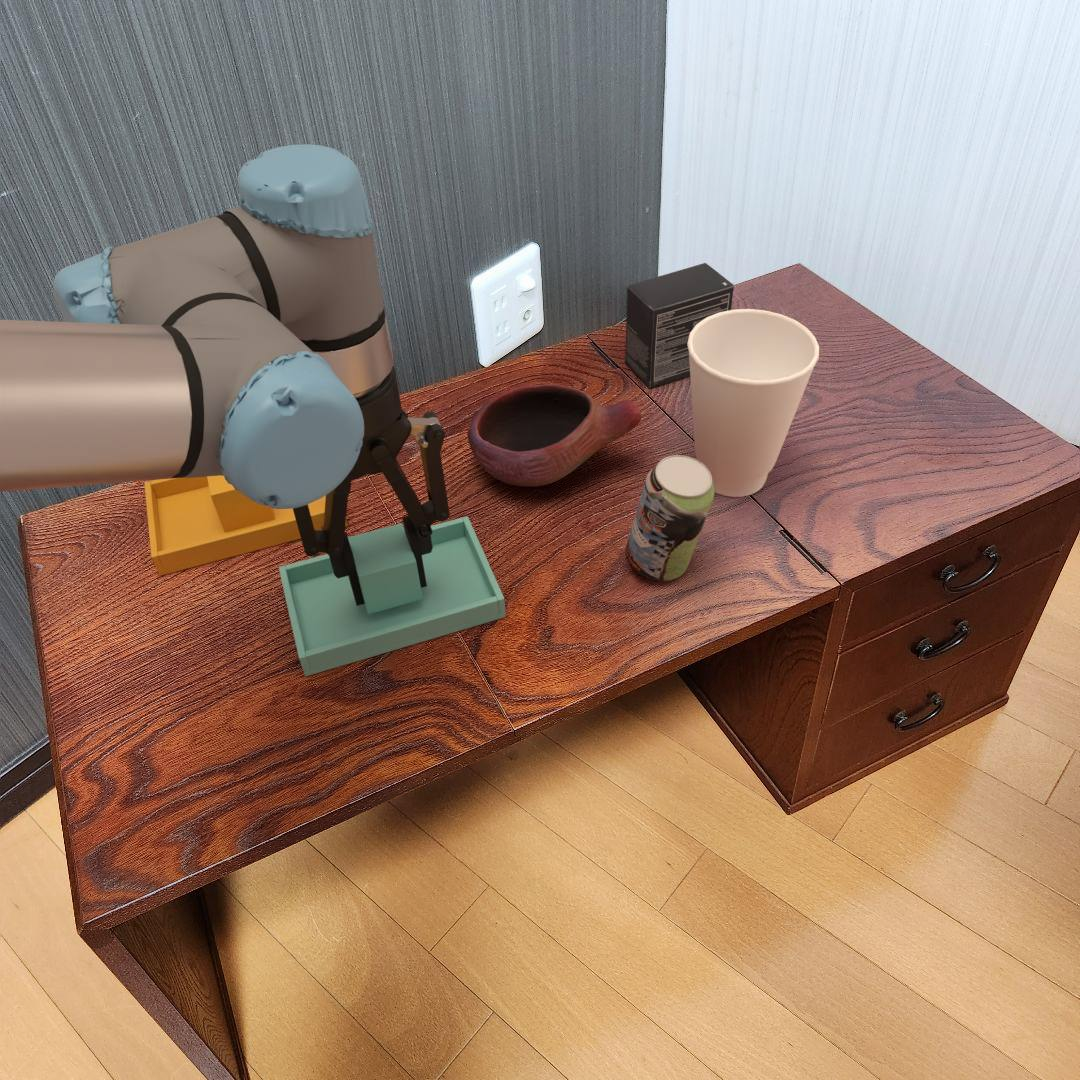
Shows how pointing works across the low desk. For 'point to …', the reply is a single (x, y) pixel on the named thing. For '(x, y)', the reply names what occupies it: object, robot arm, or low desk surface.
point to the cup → (746, 392)
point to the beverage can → (669, 517)
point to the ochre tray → (208, 526)
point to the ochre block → (236, 506)
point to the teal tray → (352, 634)
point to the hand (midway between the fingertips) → (388, 585)
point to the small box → (670, 320)
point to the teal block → (385, 568)
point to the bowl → (544, 432)
